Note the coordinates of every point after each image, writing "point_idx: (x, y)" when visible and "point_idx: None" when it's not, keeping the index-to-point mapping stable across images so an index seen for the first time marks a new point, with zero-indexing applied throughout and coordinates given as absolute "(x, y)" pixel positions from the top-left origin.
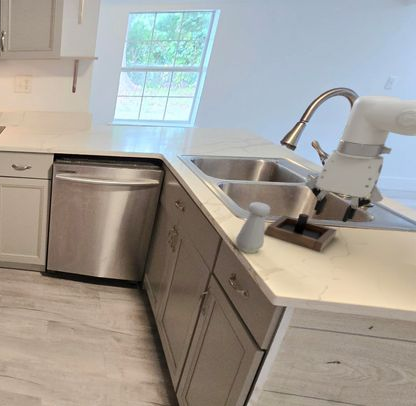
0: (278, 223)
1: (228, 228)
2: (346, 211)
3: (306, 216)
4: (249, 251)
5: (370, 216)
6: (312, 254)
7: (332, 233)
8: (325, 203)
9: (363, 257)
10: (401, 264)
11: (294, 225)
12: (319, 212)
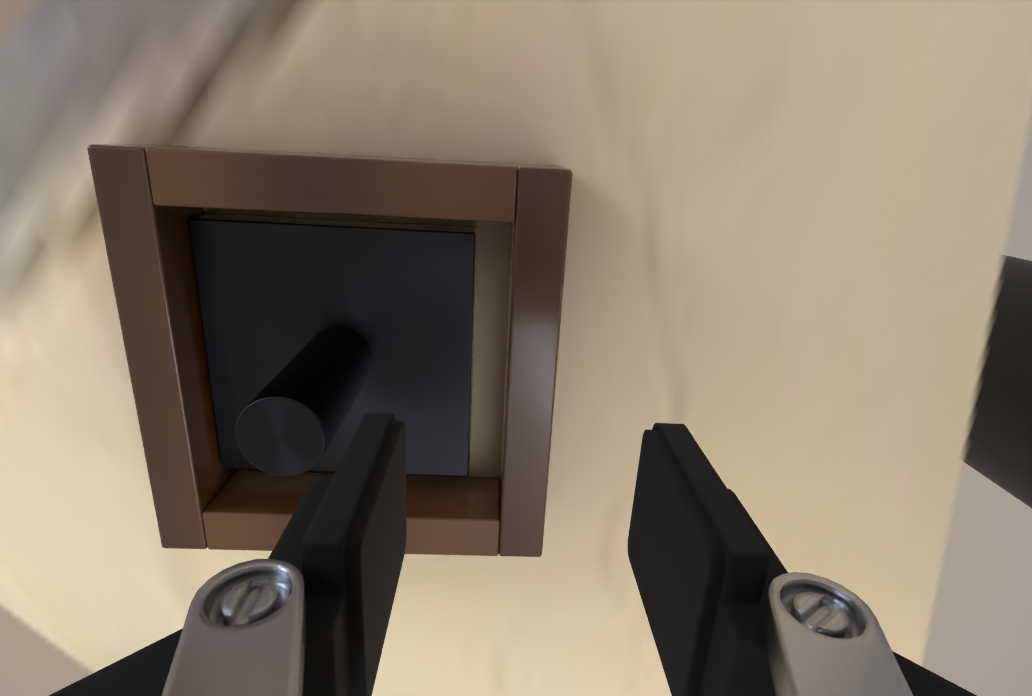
0: (177, 425)
1: (2, 585)
2: (668, 659)
3: (309, 458)
4: None
5: None
6: (515, 575)
7: (557, 308)
8: (377, 507)
9: (758, 393)
10: (955, 324)
11: (264, 238)
12: (399, 573)
